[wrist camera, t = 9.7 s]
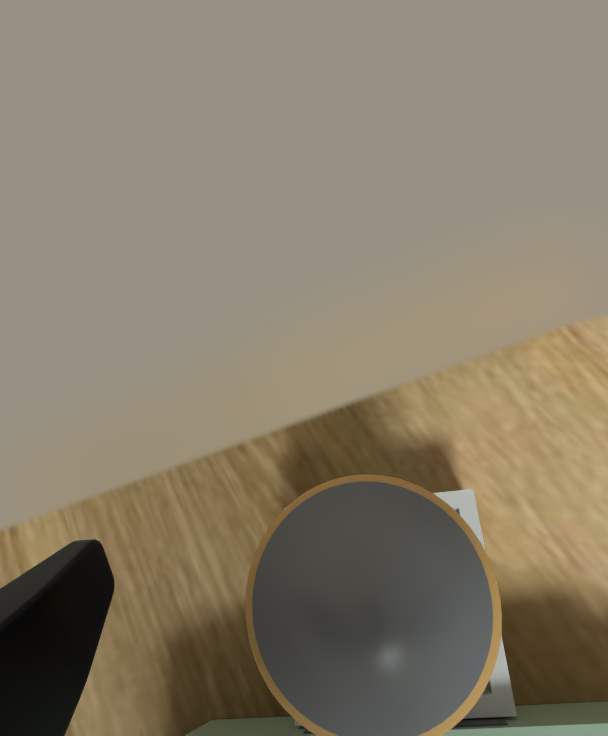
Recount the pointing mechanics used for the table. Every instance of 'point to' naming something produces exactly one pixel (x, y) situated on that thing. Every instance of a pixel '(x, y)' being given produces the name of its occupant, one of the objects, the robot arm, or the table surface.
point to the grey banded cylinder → (373, 610)
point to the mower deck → (489, 715)
